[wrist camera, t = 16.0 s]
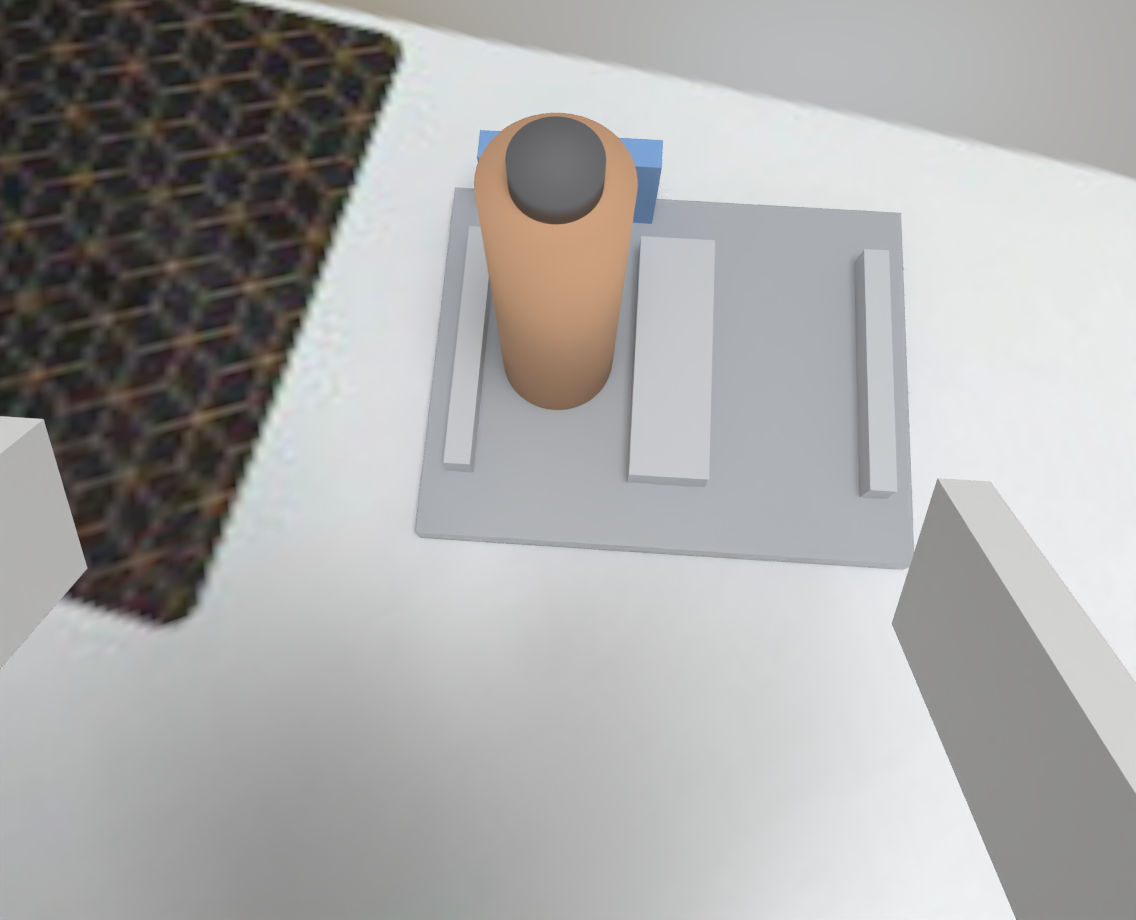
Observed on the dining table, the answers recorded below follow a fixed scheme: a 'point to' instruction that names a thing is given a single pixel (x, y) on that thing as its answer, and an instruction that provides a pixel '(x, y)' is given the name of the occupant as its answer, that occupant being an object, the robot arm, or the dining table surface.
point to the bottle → (556, 251)
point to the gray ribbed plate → (692, 394)
